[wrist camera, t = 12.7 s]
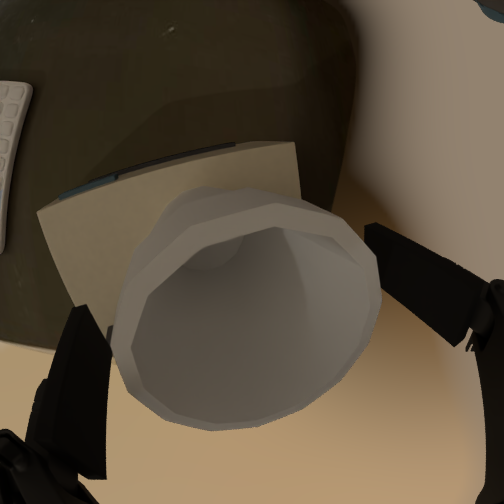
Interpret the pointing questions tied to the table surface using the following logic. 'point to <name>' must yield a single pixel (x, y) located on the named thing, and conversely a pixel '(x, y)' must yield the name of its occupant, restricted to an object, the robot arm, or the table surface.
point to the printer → (146, 212)
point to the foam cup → (242, 308)
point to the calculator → (10, 138)
